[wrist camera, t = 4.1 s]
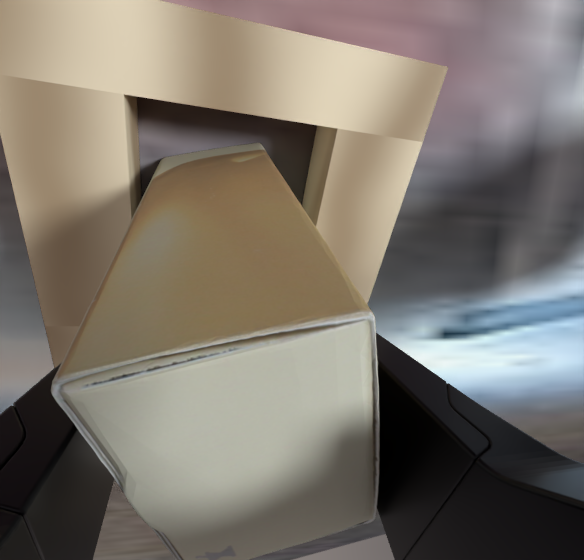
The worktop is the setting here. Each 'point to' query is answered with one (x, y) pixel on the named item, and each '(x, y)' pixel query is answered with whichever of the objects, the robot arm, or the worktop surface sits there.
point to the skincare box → (229, 366)
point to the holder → (199, 92)
